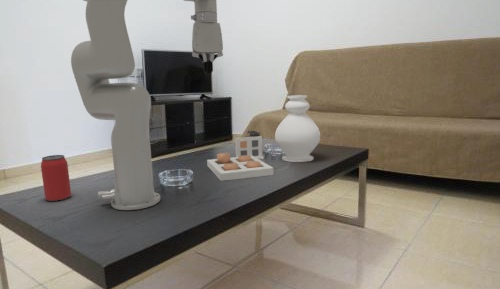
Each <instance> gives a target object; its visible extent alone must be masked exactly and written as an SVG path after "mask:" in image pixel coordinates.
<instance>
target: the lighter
mask: <svg viewBox="0 0 500 289" xmlns="http://www.w3.org/2000/svg"><path fill="white" fill-rule="evenodd" d="M246 133H247V134H249V135H245V137H258V136H262V135H261V132H260V131H258V130H251V129H250V130H247V131H246ZM263 138H264V136H262V139H263ZM263 154H264V151H263V148H262V155H263Z"/></svg>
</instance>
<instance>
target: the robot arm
mask: <svg viewBox="0 0 500 289" xmlns="http://www.w3.org/2000/svg"><path fill="white" fill-rule="evenodd" d="M83 1H84V2H86V4H85V5H86V6H85V22H86V27H87V29H88V33H89V34H88V35H89V39H90V40H85V41H82V42H80V43H78V44H77V45H75V47H74V48H73V50H72V52H71V56H70V57H71V58H70V64H71V70H72V74H73V76H74V79H75V82H76V85H77V88H78V91H79V95H80V99H81V101H82V103H83V106H84V108H85V110H86V112H87V113H88V114H89V115H90V116H91V117H92V118H94V119H97V120H101V121H115V122H114V123H115V124H114V126H113V128H112V132H111V137H110V139H111V140H110V143H111V152H112V160H113V162H112V163H113V164H112V165H113V173H114V183H115V185H114V188H111V189H110V190H99V191H97V196H98V199H102V201H107V200H110V205H111V207H112V208H113V209H115V210H118V211H119V210H120V211H137V210H141V209H146V208H150V207H153V206H156V205H157V204H158V203H159V202H160V201H161V194H159V193H158V192H155V188H154V186H155V185H154V177H153V174H154V173H153V163H152V150H151V141H150V117H151V116H150V115H151V107H152V99H151V98H152V97H151V95H150V93H149V91H148V90H147V88H146V87H144V86H143V85H141V84H139V83H134V82H112V83H110V80H114V79H123V78H127V77H129V76H131V75H132V74H133V73H134V71H135V68H136V64H135V63H136V62H135V58H134V52H133V48H132V44H131V40H130V37H129V32H128V30H127V29H128V28H127V24H126V18H125V10H126V6H127V3H128V0H83ZM183 1H184V2H193V3H194V15H190V19H191V20H192V21H194V22H193V25H192V34H191V35H192V36H191V37H192V38H191V41H192V42H191V43H192V44H191V48H192V53H191V56H192V57H193V58H198V59H199V60H200V61H201V62H202V63H203V72H204V73H205V75H212V73H213V72H214V64H213V62H215V60H216V59H217V58H221V57H223V56H224V53H223V49H224V47H223V45H224V42H223V36H222V35H223V34H222V29H221V25H220V23H219V22H218V8H217V6H218V5H217V0H183ZM207 54H209V55H208V56H209V57H207ZM207 58H208V59H207Z"/></svg>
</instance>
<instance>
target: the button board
mask: <svg viewBox="0 0 500 289" xmlns="http://www.w3.org/2000/svg"><path fill="white" fill-rule="evenodd" d="M251 161H258V162H260V167H256V168H247V166H246V163H247V162H250V161H246V162H238V157H236V156H234V157H231V156H230V163H237V164H238V170H229V171H224V164H220V163H217V158H213V159H206V163H207V164H206V165H207V167H208V169H210V170H211V172H212V173H213V174H214V175H215V176H216V177H217V178H218V180H219V181H220V182H224V181H234V180H242V179H249V178H250V179H251V178H261V177H266V176H267V177H268V176H274V175H275V174H274V167H273V166H271V165H269V164H267V163H266V162H264V161H262V159H260V160H259V159H257V158H256V157H254V156H251ZM226 164H227V163H226Z"/></svg>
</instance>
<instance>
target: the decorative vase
mask: <svg viewBox="0 0 500 289" xmlns="http://www.w3.org/2000/svg"><path fill="white" fill-rule="evenodd" d="M287 99H289V100H288V101H287V102H285V105H284V108H285V110H286V111H287V112H288V114H287V115H286V116H285V117H284V118H283V119H282V120H281V121H280V123H279V124H278V126H277V127H276V129H275V134H274V140H275V143H276V144H277V146H278V147H279V148H280V150H281V151H282V152H283V153H284V155H283V156H281V160H282V161H285V162H288V163H289V162H291V163H304V162H305V163H307V162H311V161H313V160H314V155H311V153H312V152H313V151H314V150H315V148H316V147H317V146H318V144H319V143H320V140H321V131H320V129H319V127H318V125H317V124H316V122H315V121H314V120H313V119H312V118H311V117H310V116H309V114H307V113H306V112H307V111H308V110H309V109H310V107H311V106H310V103H309V101H307V100H306V99H308V95H307V94H306V95H304V94H292V95H291V94H290V95H287Z"/></svg>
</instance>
